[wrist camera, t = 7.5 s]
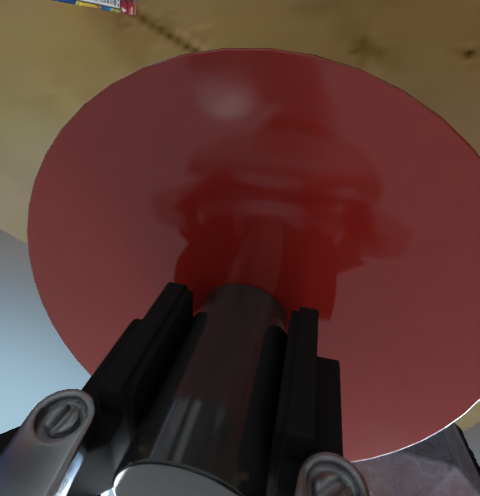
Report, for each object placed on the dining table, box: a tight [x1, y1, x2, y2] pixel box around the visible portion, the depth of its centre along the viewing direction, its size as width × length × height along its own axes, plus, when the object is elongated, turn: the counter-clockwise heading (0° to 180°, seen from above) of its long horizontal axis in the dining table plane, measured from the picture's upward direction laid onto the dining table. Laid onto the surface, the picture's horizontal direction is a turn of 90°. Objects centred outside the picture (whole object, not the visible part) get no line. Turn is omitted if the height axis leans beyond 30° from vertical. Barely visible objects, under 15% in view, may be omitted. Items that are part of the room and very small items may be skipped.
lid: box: [27, 48, 480, 496], centre depth 9 cm, size 15×15×7 cm
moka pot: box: [351, 422, 480, 496], centre depth 27 cm, size 10×15×20 cm, turn 70°
